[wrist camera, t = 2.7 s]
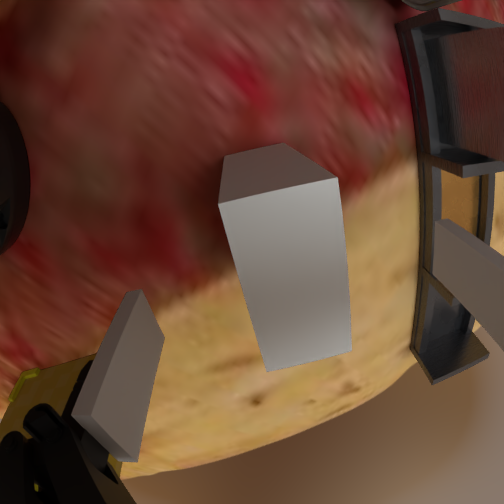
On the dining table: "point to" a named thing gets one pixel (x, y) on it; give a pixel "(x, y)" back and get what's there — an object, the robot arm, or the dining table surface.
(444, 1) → the network device
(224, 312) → the dining table surface
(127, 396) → the robot arm
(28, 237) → the dining table surface
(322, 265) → the block
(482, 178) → the rack
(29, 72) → the dining table surface
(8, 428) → the book
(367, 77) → the dining table surface
